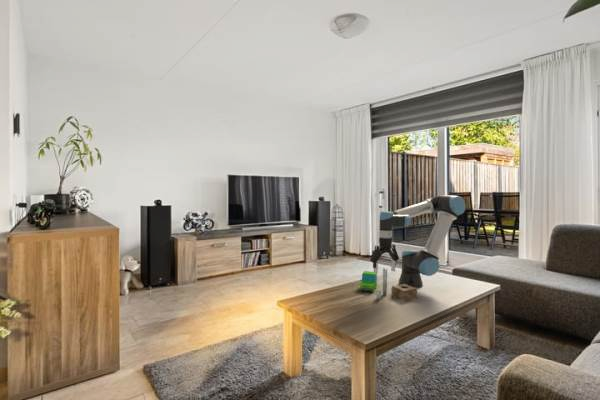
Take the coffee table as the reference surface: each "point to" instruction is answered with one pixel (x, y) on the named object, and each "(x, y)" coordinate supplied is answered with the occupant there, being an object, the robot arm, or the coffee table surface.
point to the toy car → (368, 281)
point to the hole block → (404, 292)
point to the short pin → (378, 295)
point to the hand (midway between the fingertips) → (384, 272)
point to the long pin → (384, 282)
